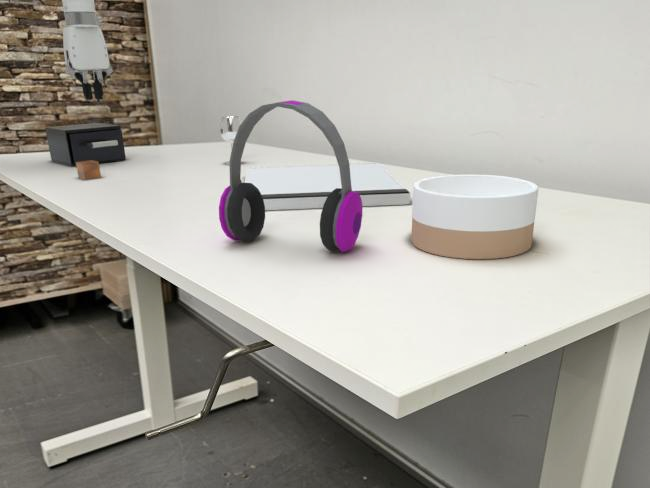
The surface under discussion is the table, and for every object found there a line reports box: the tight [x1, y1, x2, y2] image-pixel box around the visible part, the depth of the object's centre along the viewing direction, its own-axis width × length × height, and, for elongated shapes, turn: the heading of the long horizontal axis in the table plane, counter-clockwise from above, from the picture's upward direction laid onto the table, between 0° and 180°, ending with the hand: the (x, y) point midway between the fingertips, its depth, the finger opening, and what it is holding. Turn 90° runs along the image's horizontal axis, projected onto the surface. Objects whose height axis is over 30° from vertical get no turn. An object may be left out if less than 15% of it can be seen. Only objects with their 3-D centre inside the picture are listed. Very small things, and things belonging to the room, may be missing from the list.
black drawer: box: [68, 128, 127, 164], centre depth 169 cm, size 18×14×8 cm
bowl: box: [411, 174, 539, 260], centre depth 87 cm, size 17×17×8 cm
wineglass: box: [219, 115, 243, 166], centre depth 160 cm, size 6×6×12 cm
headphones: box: [218, 99, 364, 253], centre depth 85 cm, size 21×9×20 cm, turn 66°
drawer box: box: [44, 122, 126, 168], centre depth 172 cm, size 15×16×10 cm
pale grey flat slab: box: [243, 162, 412, 211], centre depth 127 cm, size 35×2×31 cm
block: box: [75, 160, 102, 181], centre depth 146 cm, size 4×4×4 cm
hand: (94, 98), depth 159 cm, fingers closed
